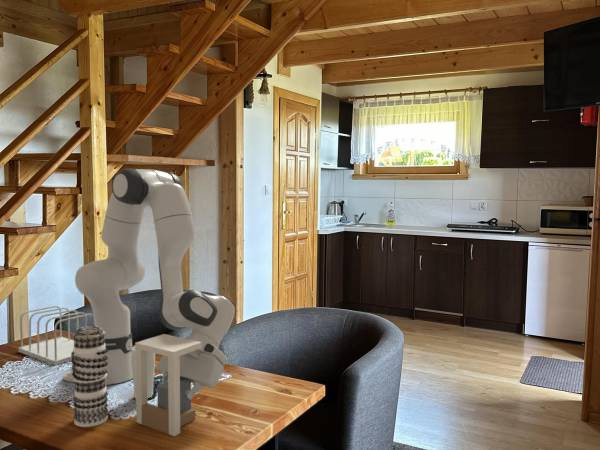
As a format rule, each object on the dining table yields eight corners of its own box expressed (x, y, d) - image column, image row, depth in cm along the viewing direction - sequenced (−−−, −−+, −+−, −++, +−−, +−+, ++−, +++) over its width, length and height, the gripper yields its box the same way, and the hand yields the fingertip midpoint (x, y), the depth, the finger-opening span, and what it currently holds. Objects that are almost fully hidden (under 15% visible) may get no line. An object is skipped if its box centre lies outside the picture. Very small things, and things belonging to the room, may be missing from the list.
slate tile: (182, 410, 147) (182, 375, 147) (191, 413, 146) (190, 377, 145) (157, 422, 140) (157, 385, 139) (166, 425, 138) (166, 388, 137)
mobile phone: (205, 364, 185) (233, 374, 175) (205, 367, 185) (233, 377, 175) (187, 369, 179) (215, 380, 169) (187, 372, 179) (215, 383, 169)
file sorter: (18, 352, 198) (16, 311, 197) (62, 341, 213) (61, 303, 211) (54, 366, 184) (53, 321, 183) (99, 353, 198) (98, 312, 197)
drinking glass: (142, 403, 152) (142, 352, 151) (126, 398, 156) (125, 348, 155) (160, 396, 158) (159, 346, 157) (144, 391, 162) (144, 342, 161)
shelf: (168, 407, 150) (168, 332, 149) (206, 419, 143) (205, 340, 141) (136, 422, 140) (135, 342, 139) (174, 436, 133) (173, 352, 131)
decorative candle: (102, 409, 148) (101, 321, 146) (114, 421, 141) (112, 328, 139) (68, 418, 143) (66, 326, 141) (78, 430, 135) (76, 334, 134)
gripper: (167, 337, 153) (141, 380, 146) (221, 349, 142) (196, 397, 135) (179, 348, 157) (154, 391, 150) (232, 361, 146) (208, 408, 139)
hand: (174, 394), depth 142 cm, fingers open, 8 cm apart
